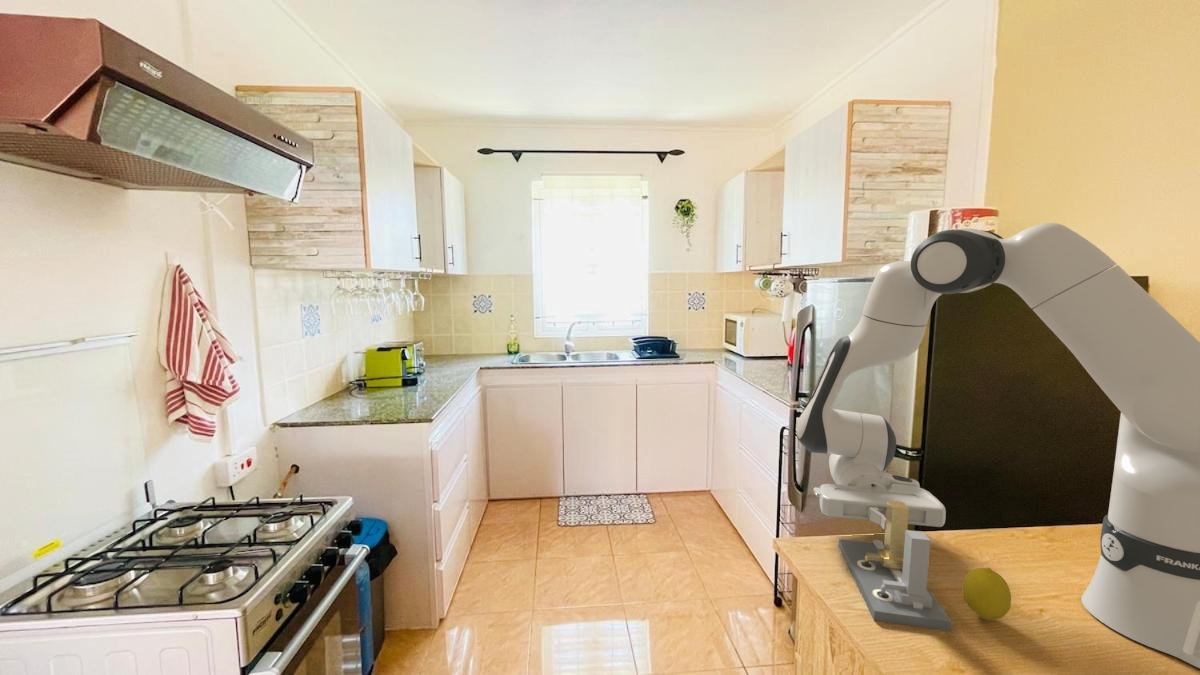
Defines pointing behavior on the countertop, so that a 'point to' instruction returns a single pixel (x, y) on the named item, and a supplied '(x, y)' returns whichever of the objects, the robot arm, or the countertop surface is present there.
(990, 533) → the countertop surface
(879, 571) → the board
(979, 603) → the lemon
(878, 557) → the brass leg
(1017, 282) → the robot arm
